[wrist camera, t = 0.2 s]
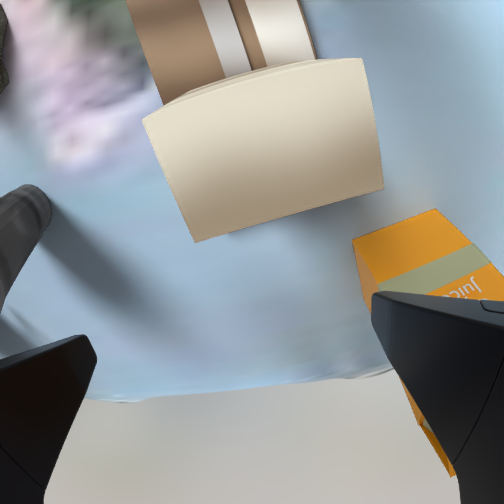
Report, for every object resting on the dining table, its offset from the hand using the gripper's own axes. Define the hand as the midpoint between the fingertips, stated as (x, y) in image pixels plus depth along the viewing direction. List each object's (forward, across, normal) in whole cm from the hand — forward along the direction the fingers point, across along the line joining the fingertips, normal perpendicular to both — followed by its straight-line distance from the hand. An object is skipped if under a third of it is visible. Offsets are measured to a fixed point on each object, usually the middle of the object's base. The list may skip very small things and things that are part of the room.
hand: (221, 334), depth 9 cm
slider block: (+12, +3, +7) cm, 14 cm away
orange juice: (+18, +14, -7) cm, 24 cm away
